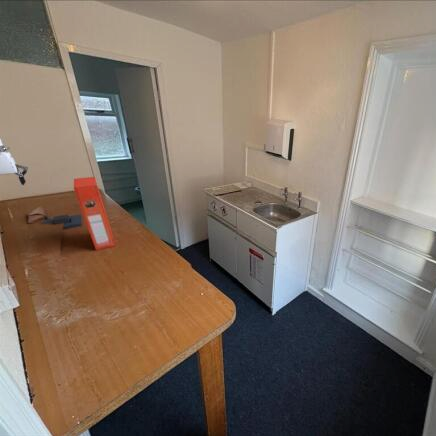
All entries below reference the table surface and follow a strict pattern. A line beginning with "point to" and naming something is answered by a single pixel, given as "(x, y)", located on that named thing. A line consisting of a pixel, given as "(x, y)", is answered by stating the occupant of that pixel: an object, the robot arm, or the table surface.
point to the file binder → (94, 212)
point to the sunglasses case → (37, 216)
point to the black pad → (61, 219)
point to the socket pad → (74, 222)
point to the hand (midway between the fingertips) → (9, 185)
